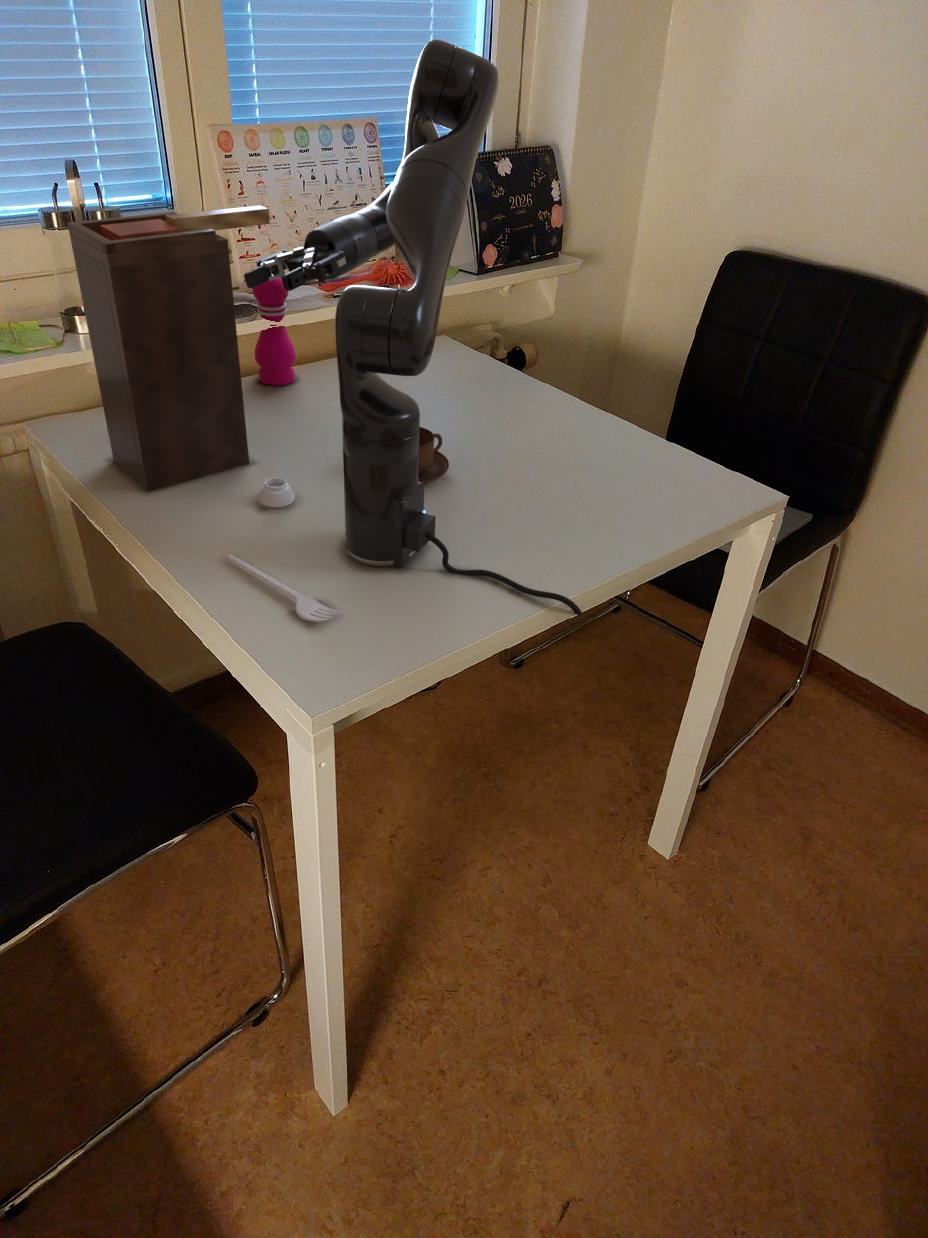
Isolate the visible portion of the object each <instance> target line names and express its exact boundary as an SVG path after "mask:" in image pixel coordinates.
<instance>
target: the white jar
mask: <svg viewBox="0 0 928 1238" xmlns="http://www.w3.org/2000/svg"><path fill="white" fill-rule="evenodd" d="M263 483H264V484H263V485H262V486H261V489H260V491H259V493H258V496H257V500H258V502H259V504H261V505H262V506H265V507H267V508H268V507H269V508H283V507H287V506H289V505H291V504H292V503H293V502H294V501H295V499H296V494H295V493H294V491H293V489H292V488H291V486H290V485H289V484H288V483H287V480H286V479H284V478H282V477H270V478H267V479H265V480H264V482H263Z"/></svg>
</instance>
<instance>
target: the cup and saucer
mask: <svg viewBox="0 0 928 1238" xmlns="http://www.w3.org/2000/svg"><path fill="white" fill-rule="evenodd" d="M435 439H437V441H438V442H437V445H436V446H435ZM442 445H443V437H442V435H440V433H437V432H436V433H433V432H432V431H431V430H429V429H427V428H426V427H422V426H420V428H419V465H418V482H422V483H424V485H426V484H430V483H433V482H435V481H437V480H439V479H440V478H442V477H443V476H444V475H445V474H446V473H447V472H448V470H449V467H450V462H449V460H448V458H447V457H446V456H445V455H444V454H443V453H442V452H441V451H439V450H440V449H441V448H442Z"/></svg>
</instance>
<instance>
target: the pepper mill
mask: <svg viewBox="0 0 928 1238" xmlns="http://www.w3.org/2000/svg"><path fill="white" fill-rule="evenodd" d="M270 269H271V268H270ZM252 295H253V297H254V298H255V300H256V301H257V303H256V307H257V309H256V312H257V313H258V314H259V315H260V316H261V317H262V318H264V319H266V320H270V321H275V322H280V321H281V320H282V319H283V317H284V318H285V315H286V313H287V311H288V310H287V303H286V302H285V301H286V299H287V298H288V296H289V291H286V290H285V288H284V285H283V282H282V279H281V278H276V279H273V280H271V281H267V282H265V283H263V284H261V285H259V286H257V287H255V288H252ZM261 317H260V318H261ZM270 326H277V325H270ZM296 359H297V353H296V349H295V346H294V343H293V342H292V340H291V338H290V336H289V333H288V330H287V328H286V325H285V326H279V327H272V328H268V329H266V330H262V331H261V330H260V332H259V335H258V339H257V341H256V344H255V348H254V360H255V362H256V364H258V366H259V367H260V368H259V369H258V378H259V381H260V382H261V383H262V384H265V385H269V386H284V385H285V386H286V385H289V384H291V383H293V382H294V381H295V369H294V368H293V365H294V363H295V361H296Z"/></svg>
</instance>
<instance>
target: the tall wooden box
mask: <svg viewBox="0 0 928 1238" xmlns="http://www.w3.org/2000/svg"><path fill="white" fill-rule="evenodd" d="M172 214H178V213H177V212H175V211H168V212H157V213H149V214H139V215H130V216H120V217H110V218H101V219H90V220H80V221H72V222H67V228H68V234H69V237H70V244H71V248H72V253H73V259H74V264H75V269H76V274H77V280H78V285H79V289H80V295H81V299H82V304H83V310H84V316H85V320H86V327H87V331H88V335H89V340H90V347H91V352H92V356H93V361H94V367H95V373H96V377H97V382H98V387H99V392H100V398H101V403H102V407H103V413H104V418H105V423H106V424H105V425H106V429H107V434H108V439H109V445H110V449H111V456H112V458H113V462H115V464H117V465H118V466H119V467H120V468H121V469H122V470H123V471H124V472H125V473H127V475H129V476H130V477H131V478H132V479H134V481H136V482H137V483H138V484H139V485H140V486H141V487H142V488H144V490H145V491H146V492H148V493H150V492H153V491H156V490H159V489H164V488H167V487H171V486H174V485H178V484H181V483H185V482H189V481H192V480H196V479H199V478H203V477H205V476H210V475H214V474H217V473H220V472H223V471H227V470H231V469H235V468H238V467H241V466H245V465H249V464H250V456H249V455H250V454H249V446H248V436H247V435H248V433H247V424H246V413H245V404H244V394H243V382H242V375H241V374H242V373H241V363H240V352H239V343H238V341H239V340H238V332H237V322H236V321H237V320H236V312H235V311H236V310H235V301H234V300H235V299H234V291H233V281H232V280H233V279H232V270H231V260H230V259H231V258H230V249H229V239H227V238H226V237H223V236H221V235H219V234H217V233H216V230H212V229H206V230H197V231H189V232H180V233H172V234H163V235H155V236H146V237H138V238H129V239H121V240H110V239H108V238H106V237H104V236H103V235H102V234H101V228H100V225H108V224H117V223H127V222H136V221H145V220H155V219H160V220H163V221H165V222H166V219H165V215H172Z"/></svg>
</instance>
